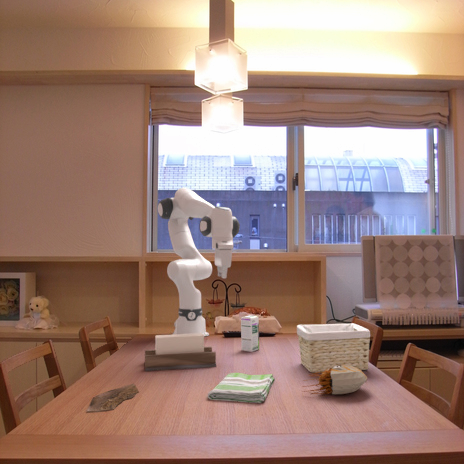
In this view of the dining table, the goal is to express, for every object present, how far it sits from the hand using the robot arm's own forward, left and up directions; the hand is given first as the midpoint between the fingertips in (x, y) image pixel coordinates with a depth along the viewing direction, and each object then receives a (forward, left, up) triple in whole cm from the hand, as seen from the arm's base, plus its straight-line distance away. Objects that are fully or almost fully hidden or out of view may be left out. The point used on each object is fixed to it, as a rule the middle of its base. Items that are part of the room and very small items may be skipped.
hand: (222, 277), depth 182 cm
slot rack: (+13, -19, -32) cm, 39 cm away
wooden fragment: (+45, -41, -33) cm, 69 cm away
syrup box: (-4, +13, -32) cm, 35 cm away
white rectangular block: (+13, -19, -31) cm, 39 cm away
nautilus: (+55, +24, -32) cm, 68 cm away
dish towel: (+46, -2, -33) cm, 57 cm away
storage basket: (+29, +36, -32) cm, 56 cm away
